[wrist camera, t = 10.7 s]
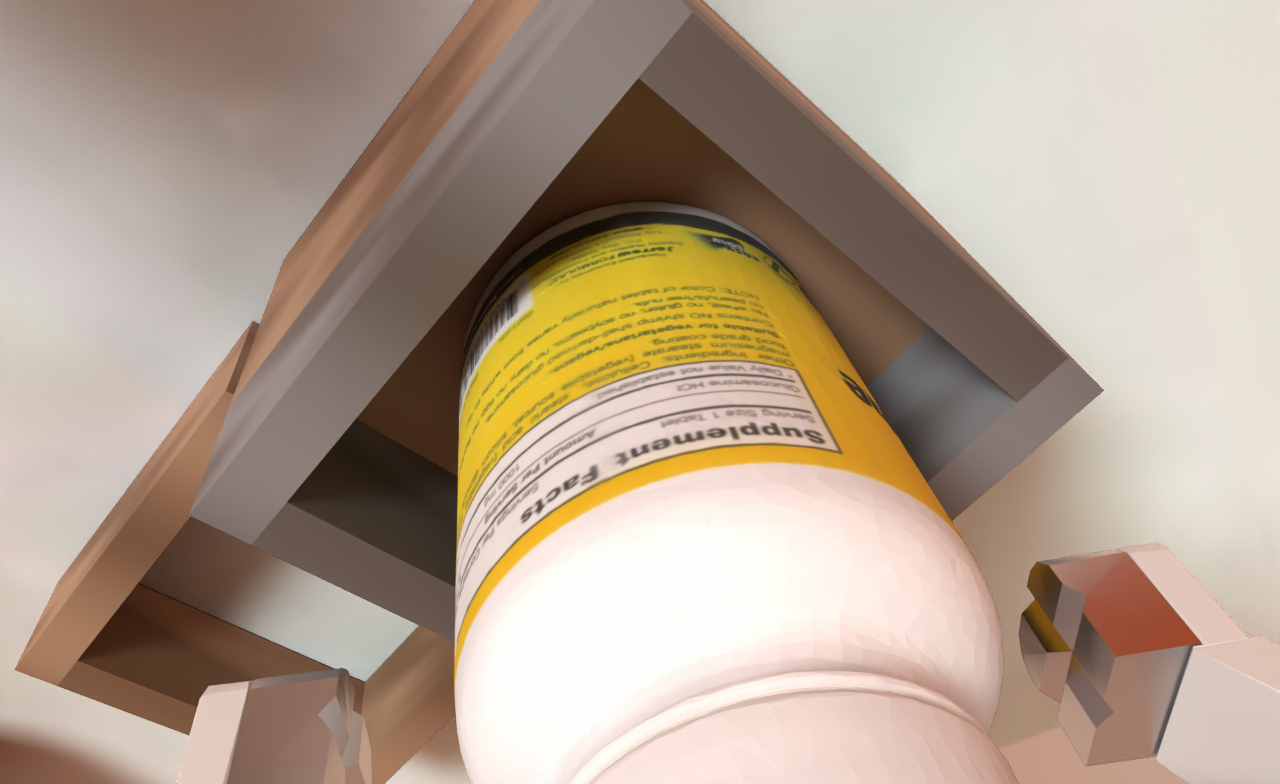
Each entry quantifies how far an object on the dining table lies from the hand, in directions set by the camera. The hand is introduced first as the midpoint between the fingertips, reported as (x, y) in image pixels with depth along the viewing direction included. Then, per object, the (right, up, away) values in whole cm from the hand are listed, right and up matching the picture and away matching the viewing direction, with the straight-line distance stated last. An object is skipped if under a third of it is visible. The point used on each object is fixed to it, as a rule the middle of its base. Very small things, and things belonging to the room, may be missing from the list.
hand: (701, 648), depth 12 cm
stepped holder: (-6, +3, +13) cm, 14 cm away
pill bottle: (-1, +4, +6) cm, 7 cm away
